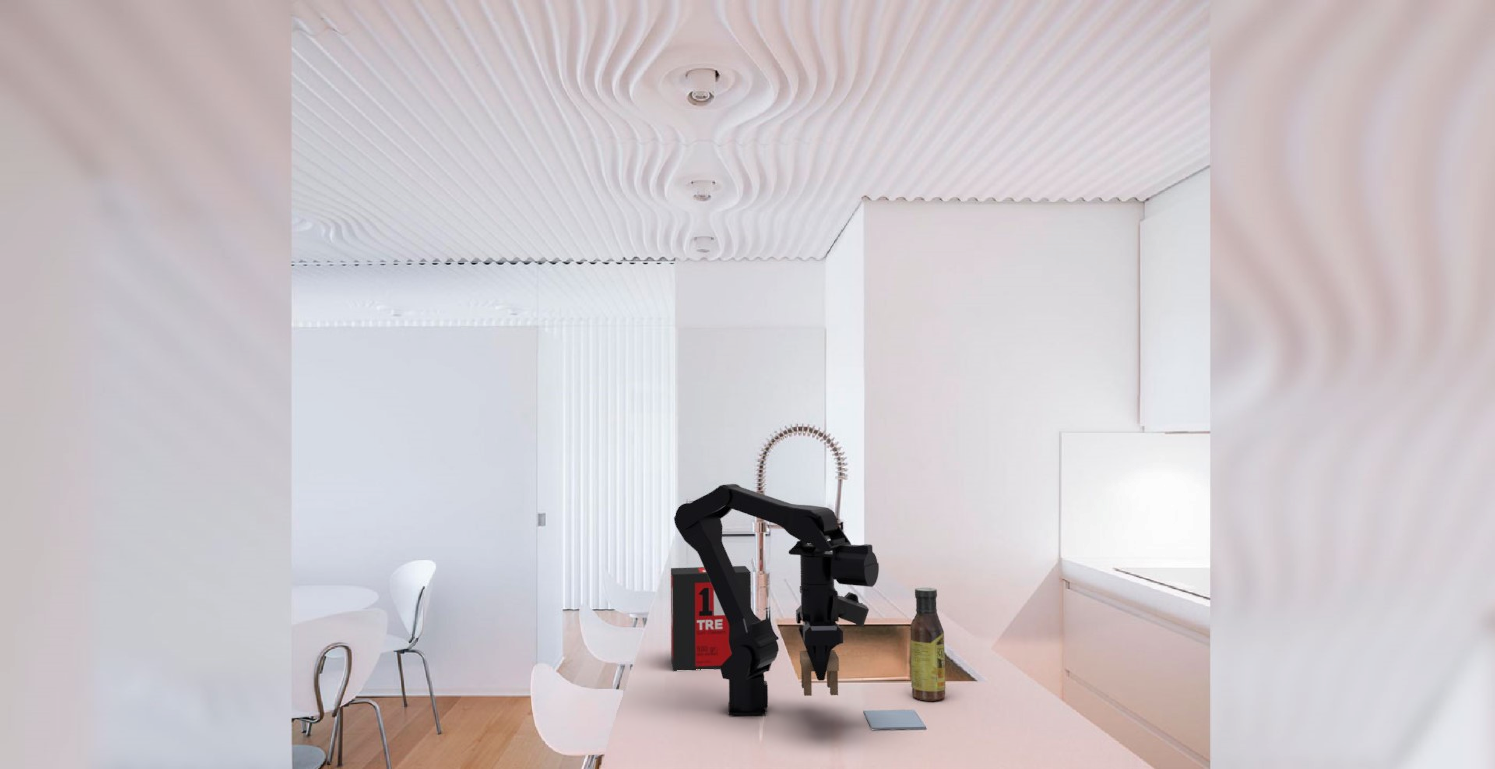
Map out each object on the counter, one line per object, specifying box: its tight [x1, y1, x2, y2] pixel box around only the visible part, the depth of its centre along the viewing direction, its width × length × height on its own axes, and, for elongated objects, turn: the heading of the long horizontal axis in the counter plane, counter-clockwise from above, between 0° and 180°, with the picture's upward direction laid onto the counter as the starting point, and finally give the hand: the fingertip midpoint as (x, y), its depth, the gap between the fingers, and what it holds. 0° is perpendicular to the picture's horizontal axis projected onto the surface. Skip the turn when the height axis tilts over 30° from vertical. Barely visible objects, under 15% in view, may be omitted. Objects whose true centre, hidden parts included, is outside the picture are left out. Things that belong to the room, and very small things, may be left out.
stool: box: [799, 649, 840, 697], centre depth 147 cm, size 6×6×6 cm
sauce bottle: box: [909, 587, 946, 702], centre depth 161 cm, size 6×6×20 cm
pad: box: [863, 709, 927, 730], centre depth 148 cm, size 9×9×1 cm
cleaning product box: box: [670, 565, 752, 672], centre depth 186 cm, size 16×9×20 cm, turn 98°
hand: (819, 675), depth 147 cm, fingers closed on stool, 6 cm apart
